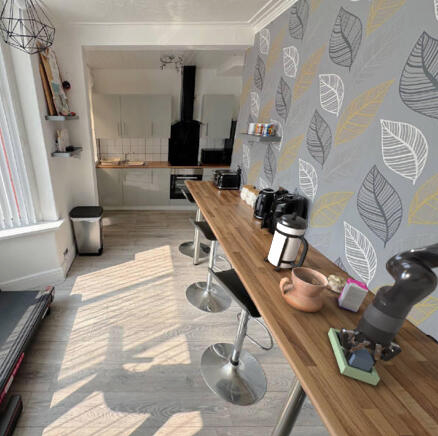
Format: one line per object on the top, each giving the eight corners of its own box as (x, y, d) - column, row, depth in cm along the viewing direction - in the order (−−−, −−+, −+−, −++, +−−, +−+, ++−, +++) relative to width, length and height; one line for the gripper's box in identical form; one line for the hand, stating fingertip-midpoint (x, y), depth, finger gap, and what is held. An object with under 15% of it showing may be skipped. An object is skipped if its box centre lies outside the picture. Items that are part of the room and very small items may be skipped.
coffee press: (259, 265, 122) (274, 213, 110) (268, 253, 134) (282, 204, 121) (297, 280, 112) (317, 224, 100) (303, 266, 123) (322, 213, 111)
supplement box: (357, 313, 94) (369, 291, 90) (338, 307, 97) (349, 285, 93) (355, 304, 99) (366, 282, 94) (337, 298, 102) (347, 277, 97)
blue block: (362, 358, 74) (368, 349, 72) (368, 371, 70) (374, 362, 68) (345, 352, 75) (349, 344, 74) (349, 365, 71) (355, 356, 70)
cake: (346, 285, 111) (352, 276, 109) (349, 298, 103) (355, 288, 101) (322, 276, 116) (327, 267, 113) (323, 287, 108) (328, 279, 105)
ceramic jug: (315, 295, 103) (327, 269, 97) (329, 321, 90) (343, 292, 84) (271, 287, 107) (279, 261, 101) (278, 310, 94) (288, 282, 89)
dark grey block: (352, 343, 81) (356, 335, 79) (357, 354, 77) (361, 346, 75) (336, 338, 82) (340, 330, 81) (340, 349, 79) (344, 341, 77)
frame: (356, 342, 82) (359, 336, 81) (375, 385, 69) (380, 379, 67) (327, 333, 85) (330, 327, 84) (341, 373, 72) (345, 367, 70)
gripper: (354, 321, 65) (332, 362, 72) (423, 341, 60) (392, 382, 67) (345, 303, 71) (326, 342, 78) (407, 319, 66) (380, 359, 73)
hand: (356, 361), depth 72 cm, fingers closed on blue block, 4 cm apart
